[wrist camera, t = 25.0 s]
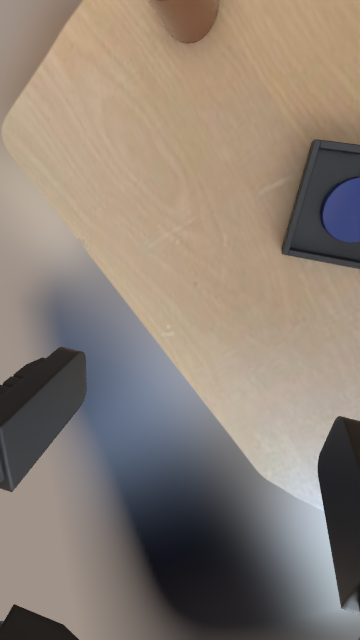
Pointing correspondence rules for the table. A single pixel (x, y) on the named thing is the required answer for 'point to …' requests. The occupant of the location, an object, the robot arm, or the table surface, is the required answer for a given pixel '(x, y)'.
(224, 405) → the table surface
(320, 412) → the table surface
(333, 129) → the table surface
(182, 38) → the jar
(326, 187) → the tray
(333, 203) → the lid
